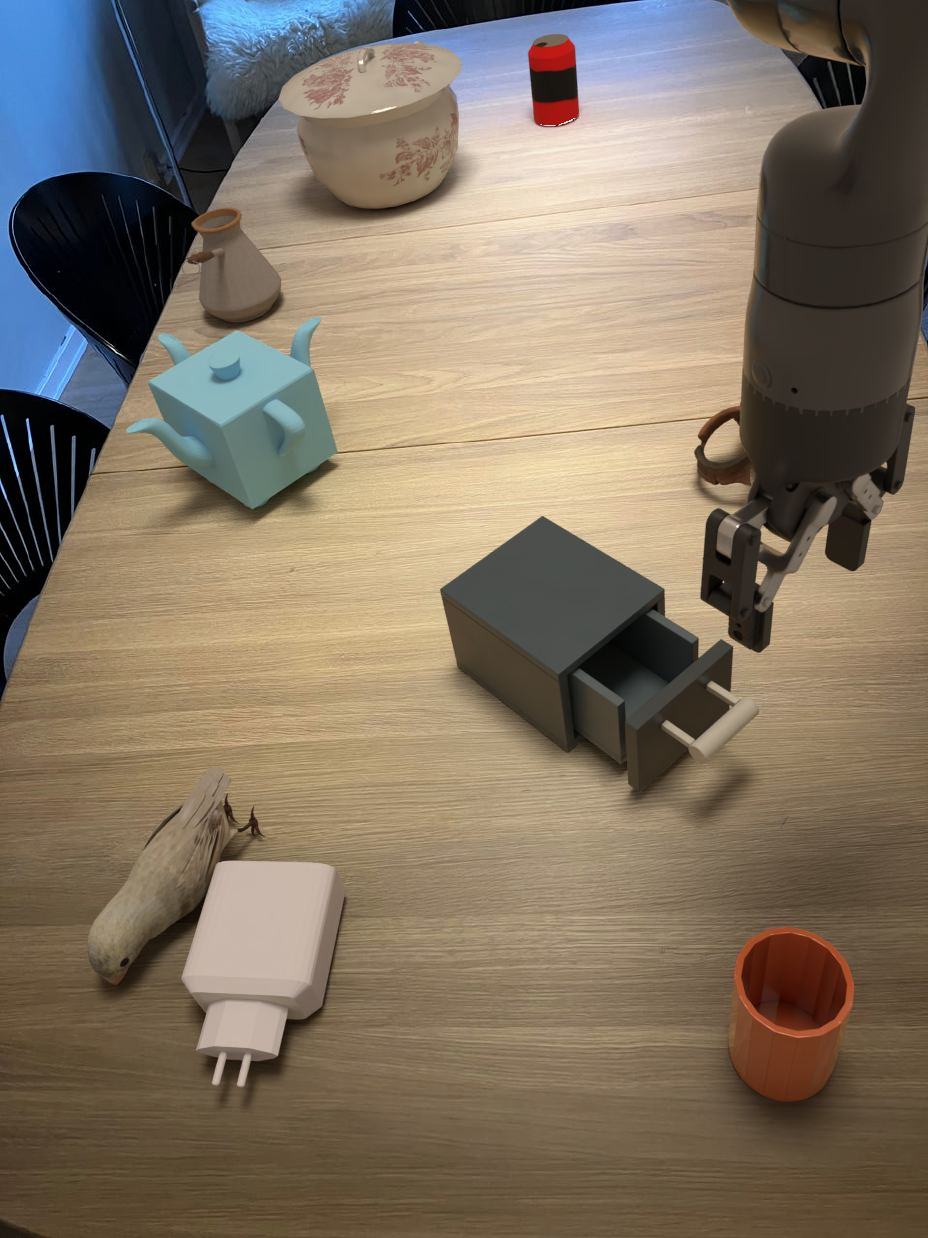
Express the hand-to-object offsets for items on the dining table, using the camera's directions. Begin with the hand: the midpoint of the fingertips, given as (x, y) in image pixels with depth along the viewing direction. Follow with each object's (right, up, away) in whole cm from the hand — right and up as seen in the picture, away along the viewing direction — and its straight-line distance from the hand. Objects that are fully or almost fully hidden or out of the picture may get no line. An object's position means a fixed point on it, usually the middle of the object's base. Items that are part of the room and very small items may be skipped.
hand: (797, 601), depth 59 cm
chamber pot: (-30, +67, +104) cm, 127 cm away
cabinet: (-11, -5, +30) cm, 33 cm away
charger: (-33, -27, +14) cm, 45 cm away
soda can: (-4, +83, +114) cm, 141 cm away
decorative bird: (-40, -23, +20) cm, 51 cm away
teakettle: (-42, +16, +58) cm, 73 cm away
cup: (+1, -28, +6) cm, 29 cm away
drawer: (-5, -9, +24) cm, 26 cm away
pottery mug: (+10, +14, +45) cm, 48 cm away
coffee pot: (-49, +38, +81) cm, 102 cm away
